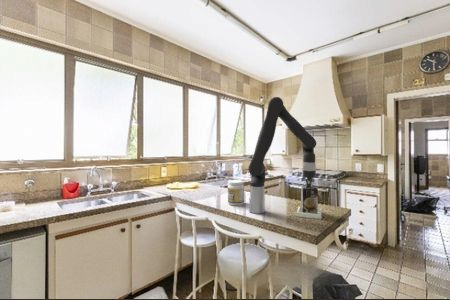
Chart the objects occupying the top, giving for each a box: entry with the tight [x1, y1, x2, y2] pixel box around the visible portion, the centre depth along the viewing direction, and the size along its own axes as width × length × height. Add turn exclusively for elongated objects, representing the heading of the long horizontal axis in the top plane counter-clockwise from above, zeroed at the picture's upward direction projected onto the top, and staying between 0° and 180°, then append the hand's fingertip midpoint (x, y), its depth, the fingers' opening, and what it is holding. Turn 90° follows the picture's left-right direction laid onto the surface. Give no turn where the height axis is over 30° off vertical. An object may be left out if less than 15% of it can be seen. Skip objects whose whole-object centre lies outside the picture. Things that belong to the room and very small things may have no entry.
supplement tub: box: [227, 179, 245, 206], centre depth 176 cm, size 12×12×17 cm
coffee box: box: [300, 186, 319, 214], centre depth 148 cm, size 9×6×16 cm
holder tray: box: [296, 206, 323, 220], centre depth 148 cm, size 14×14×3 cm
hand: (309, 195), depth 148 cm, fingers open, 8 cm apart
